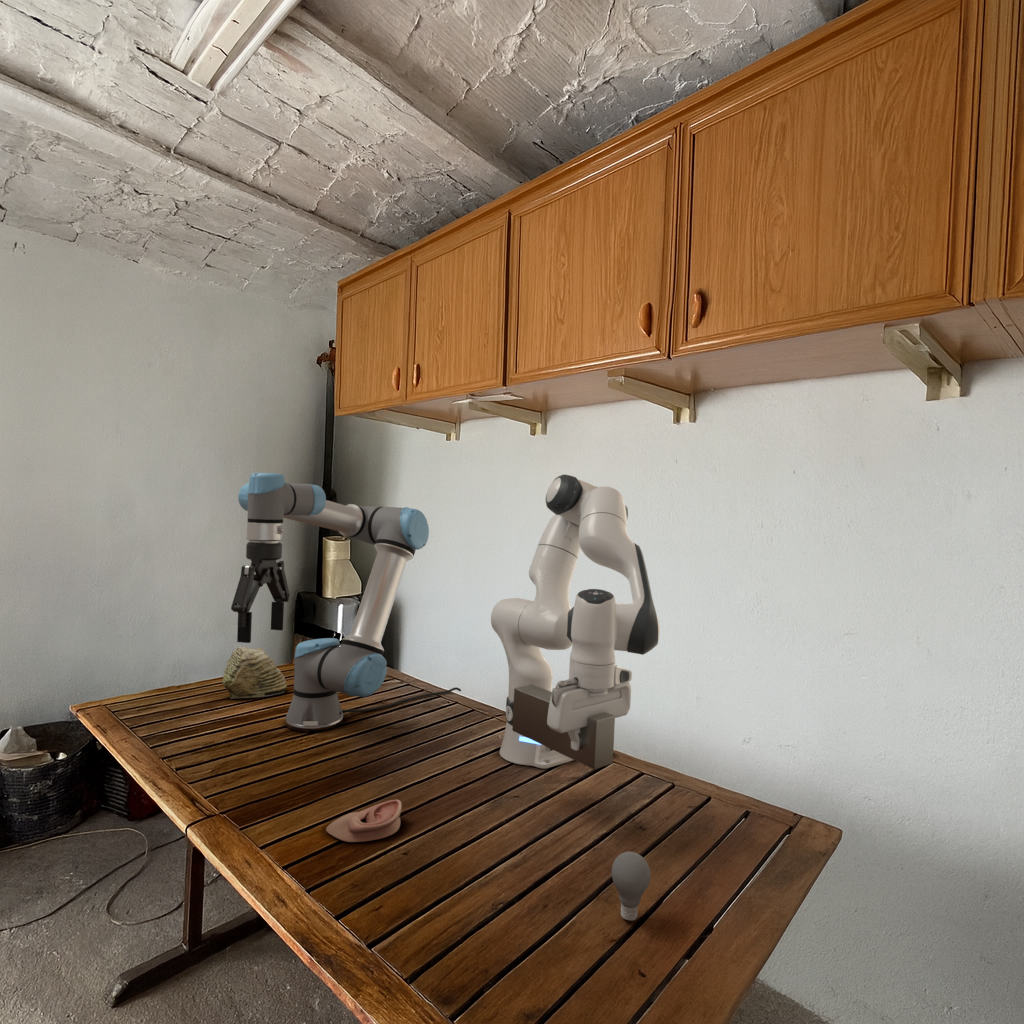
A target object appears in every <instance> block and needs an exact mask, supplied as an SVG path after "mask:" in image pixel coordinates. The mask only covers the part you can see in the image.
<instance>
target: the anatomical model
mask: <svg viewBox="0 0 1024 1024" xmlns="http://www.w3.org/2000/svg"><path fill="white" fill-rule="evenodd" d="M402 808H403V804H402V802H401V800H399V799H391V800H387V801H383V802H380V803H377V804H374V805H372V806H370V807H367V808H365V809H362V810H360V811H353V812H350V813H347V814H344V815H342V816H340V817H338V818H337V819H335V820H333V821H332V822H330V823H329V825H327V826H326V828H325V832H326V833H327V834H329V835H330V836H332V837H333V838H335V839H338V840H340V841H342V842H345V843H360V842H361V843H363V842H371V841H375V840H381V839H384V838H387V837H389V836H392V835H394V834H395V833H397V832H398V831H399V829H400V827H401V824H402V823H401V817H400V816H401V813H402Z"/></svg>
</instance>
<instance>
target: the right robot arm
mask: <svg viewBox="0 0 1024 1024" xmlns="http://www.w3.org/2000/svg"><path fill="white" fill-rule="evenodd" d="M545 506H546V508H547V509H549V511H551V512H552V513H553V514H554V515H553V516H552V517H551V518H550V520H549V521H548V523H547V525H546V526H545V528H544V530H543V532H542V534H541V537H540V539H539V541H538V544H537V547H536V549H535V553H534V555H533V558H532V561H531V564H530V566H529V570H528V577H529V579H530V581H531V582H532V584H533V585H534V586H535V597H534V600H531V599H526V598H520V597H513V598H503V599H500V600H499V601H497V602H496V604H495V605H494V607H493V608H492V610H491V613H490V625H491V627H492V629H493V631H494V632H495V633H496V634H497V636H498V638H499V640H500V642H501V644H502V646H503V650H504V652H505V657H506V661H507V667H508V696H507V697H506V701H505V722H506V723H505V729H504V733H503V738H502V742H501V745H500V749H499V751H498V752H499V755H500V757H501V758H502V759H504V760H505V761H508V762H509V763H512V764H516V765H523V766H530V767H536V768H538V769H543V770H545V769H546V770H547V769H549V768H552V767H556V766H559V765H563V764H565V763H570V762H572V761H574V760H573V759H571V758H569V757H567V756H565V755H563V754H561V753H559V752H556V751H554V750H552V749H550V748H548V747H546V746H544V745H542V744H540V743H537V742H535V741H533V740H531V739H529V738H527V737H525V736H523V735H521V734H519V733H516V732H514V731H512V726H513V704H514V688H518V687H523V686H528V685H534V686H537V687H539V688H542V689H545V690H547V691H550V692H552V695H551V698H550V703H549V709H548V716H547V724H548V726H549V728H550V729H552V730H554V731H556V732H559V733H565V732H568V735H569V737H570V739H571V748H572V749H573V750H575V751H577V750H580V749H582V747H583V746H582V745H583V740H580V739H579V736H578V733H580V728H582V727H586V726H587V720H588V717H590V716H594V715H598V714H601V713H605V712H606V713H609V714H611V715H614V716H615V719H616V718H620V717H621V718H622V717H625V716H627V715H628V713H629V712H630V710H631V703H632V685H631V683H630V682H631V681H632V679H633V671H631V670H630V669H627V668H624V667H621V666H619V665H617V664H616V655H615V651H618V652H627V653H630V654H636V655H643V656H644V655H645V654H647V653H649V652H650V651H652V650H653V649H654V648H655V647H656V646H657V645H658V644H659V640H660V635H661V624H660V620H659V617H658V614H657V610H656V607H655V604H654V600H653V599H654V598H653V595H652V590H651V585H650V580H649V576H648V575H649V574H648V570H647V565H646V562H645V557H644V553H643V551H642V549H641V547H640V545H638V544H637V543H635V542H634V541H633V540H632V539H631V538H630V536H629V534H628V519H629V509H628V506H627V505H626V502H625V500H624V497H623V495H622V493H620V491H619V490H617V489H616V488H614V487H611V486H600V487H598V486H596V485H593V484H590V483H589V482H586V481H584V480H581V479H578V478H577V477H576V476H574V475H569V474H561V475H558V476H557V477H555V478H554V479H553V481H552V482H551V483H550V485H549V486H548V489H547V492H546V494H545ZM581 551H582V553H583V554H584V556H586V557H587V559H589V560H590V561H591V562H593V563H595V564H596V565H599V566H602V567H605V568H606V569H607V568H608V569H610V570H613V571H615V572H617V573H619V574H621V575H622V576H623V577H625V578H626V580H627V581H628V584H629V589H630V595H631V601H632V602H631V603H621V602H617V601H616V597H615V595H614V594H613V593H612V592H610V591H607V590H605V589H599V588H588V589H583V590H581V591H578V592H577V594H576V595H575V599H574V605H573V606H572V607H571V603H570V587H571V583H572V580H573V576H574V573H575V569H576V566H577V562H578V559H579V556H580V553H581ZM569 648H571V652H570V654H569V667H568V669H569V670H568V679H566V680H559V681H558V682H557V683H556V685H555V686H554V687H553V678H554V672H553V668H552V666H551V664H550V663H549V662H548V661H547V660H546V659H545V657H544V655H543V653H542V650H541V649H544V650H548V651H565V650H569ZM615 755H616V753H615V752H613V757H614V756H615Z"/></svg>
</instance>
